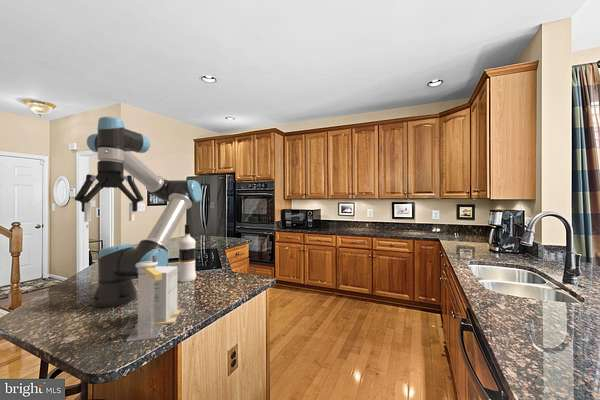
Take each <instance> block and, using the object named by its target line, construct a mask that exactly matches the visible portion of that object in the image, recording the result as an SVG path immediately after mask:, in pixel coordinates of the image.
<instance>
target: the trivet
mask: <svg viewBox="0 0 600 400" xmlns="http://www.w3.org/2000/svg"><path fill="white" fill-rule="evenodd" d="M181 311H182V307H177V311H176V312H175V313H174V314H173V315H172V316H171V317H170V318H169V319H168V320H167V321H161V322H154V325H155V324H164V326H165V325H174V324H175V322H176V321H177V319H178V317H179V315H180V313H181ZM137 326H138V321H137V322H136V324H135V325H134V329H135V328H136V327H137Z"/></svg>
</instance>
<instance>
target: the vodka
mask: <svg viewBox="0 0 600 400" xmlns="http://www.w3.org/2000/svg"><path fill="white" fill-rule="evenodd" d="M196 243H197V242H196V240H195V238H193V237H192V236H191V224H189V223H187V224H184V236H183V237H181V238H180V239H179V240H178V272H177V282H180V283H189V282H190V283H191V282H193V281H194V280H196V279H197V272H196V245H197V244H196Z"/></svg>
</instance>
